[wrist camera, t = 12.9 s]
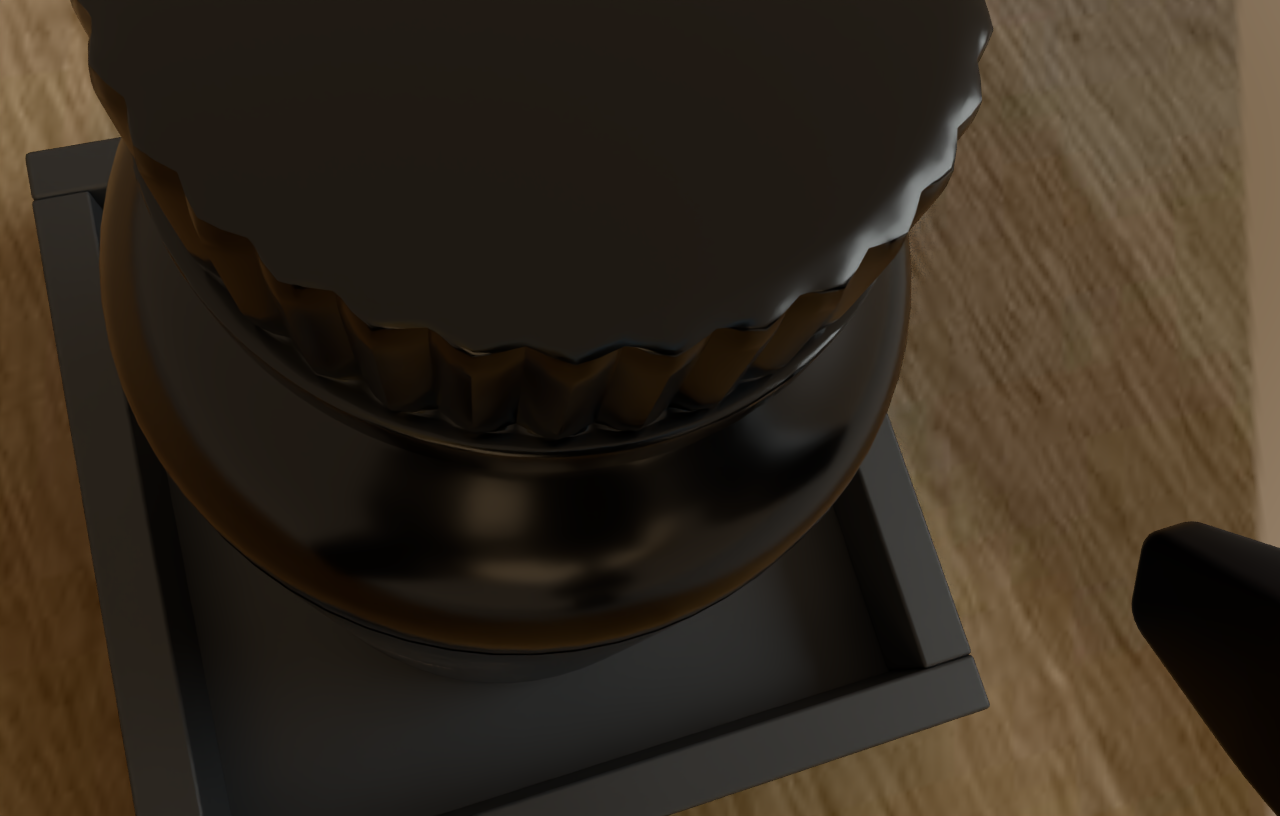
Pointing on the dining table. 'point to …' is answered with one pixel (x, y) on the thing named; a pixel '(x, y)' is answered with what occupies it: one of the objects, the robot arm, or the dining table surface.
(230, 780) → the black tray
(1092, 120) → the dining table surface
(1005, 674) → the dining table surface
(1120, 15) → the dining table surface
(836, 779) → the dining table surface
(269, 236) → the supplement bottle
